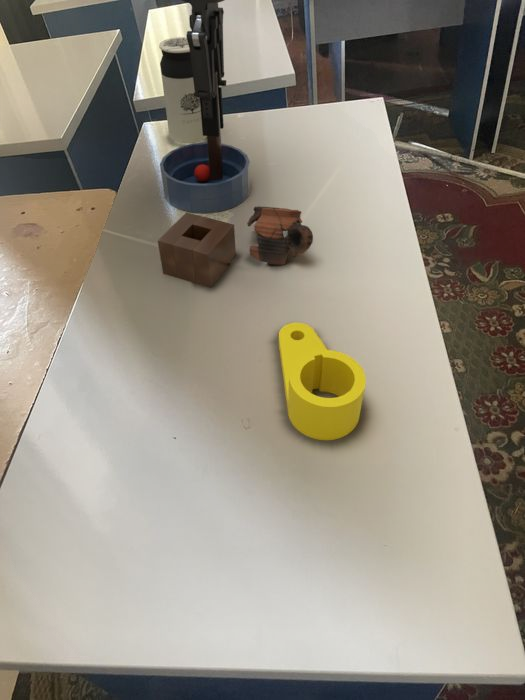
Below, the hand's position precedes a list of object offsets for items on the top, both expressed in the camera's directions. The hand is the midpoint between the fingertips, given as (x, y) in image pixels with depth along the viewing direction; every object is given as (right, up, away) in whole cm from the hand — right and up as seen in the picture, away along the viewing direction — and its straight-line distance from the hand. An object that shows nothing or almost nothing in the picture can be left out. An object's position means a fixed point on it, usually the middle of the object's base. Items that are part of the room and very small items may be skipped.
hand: (213, 130), depth 95 cm
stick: (0, -6, +6) cm, 8 cm away
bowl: (-2, -9, +6) cm, 11 cm away
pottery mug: (+11, -21, -6) cm, 25 cm away
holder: (-1, -24, -9) cm, 25 cm away
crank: (+14, -41, -25) cm, 50 cm away
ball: (-2, -6, +7) cm, 10 cm away
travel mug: (-7, +7, +22) cm, 24 cm away
